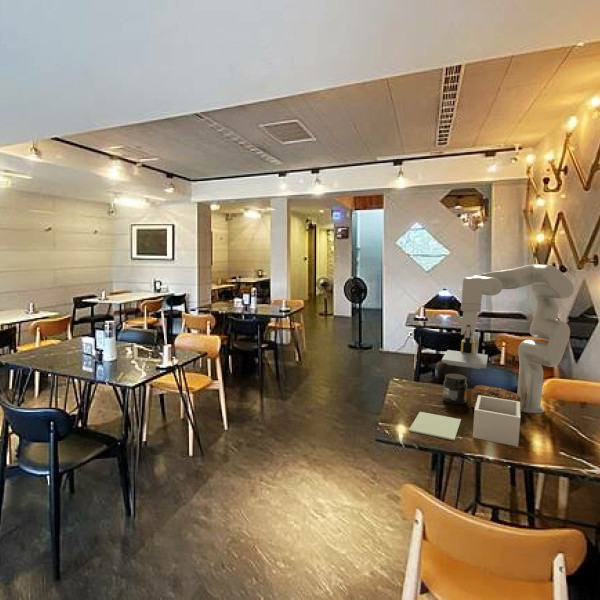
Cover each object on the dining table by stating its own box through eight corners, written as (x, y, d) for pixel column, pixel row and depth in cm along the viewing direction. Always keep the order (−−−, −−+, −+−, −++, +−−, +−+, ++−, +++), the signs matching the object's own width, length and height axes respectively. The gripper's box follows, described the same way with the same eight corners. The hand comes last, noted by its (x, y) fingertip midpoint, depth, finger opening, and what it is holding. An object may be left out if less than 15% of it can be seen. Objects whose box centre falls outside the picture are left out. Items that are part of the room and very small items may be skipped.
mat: (419, 412, 181) (419, 411, 180) (460, 420, 173) (461, 419, 173) (408, 431, 162) (408, 429, 162) (454, 440, 154) (454, 439, 154)
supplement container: (468, 399, 198) (469, 375, 196) (464, 406, 189) (465, 381, 187) (445, 395, 203) (446, 371, 202) (440, 402, 194) (441, 377, 193)
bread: (469, 408, 188) (471, 386, 186) (476, 401, 196) (478, 381, 195) (514, 418, 176) (516, 396, 175) (520, 411, 184) (522, 390, 183)
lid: (448, 353, 175) (449, 338, 175) (487, 358, 169) (489, 342, 168) (441, 364, 156) (442, 347, 155) (485, 371, 149) (487, 353, 149)
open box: (476, 420, 173) (478, 395, 172) (517, 427, 166) (519, 401, 165) (472, 437, 157) (474, 409, 156) (518, 446, 150) (520, 417, 149)
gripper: (462, 304, 177) (459, 346, 179) (459, 308, 162) (455, 354, 164) (481, 306, 174) (478, 348, 176) (479, 310, 159) (476, 356, 161)
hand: (467, 350), depth 170 cm, fingers closed on lid, 4 cm apart
